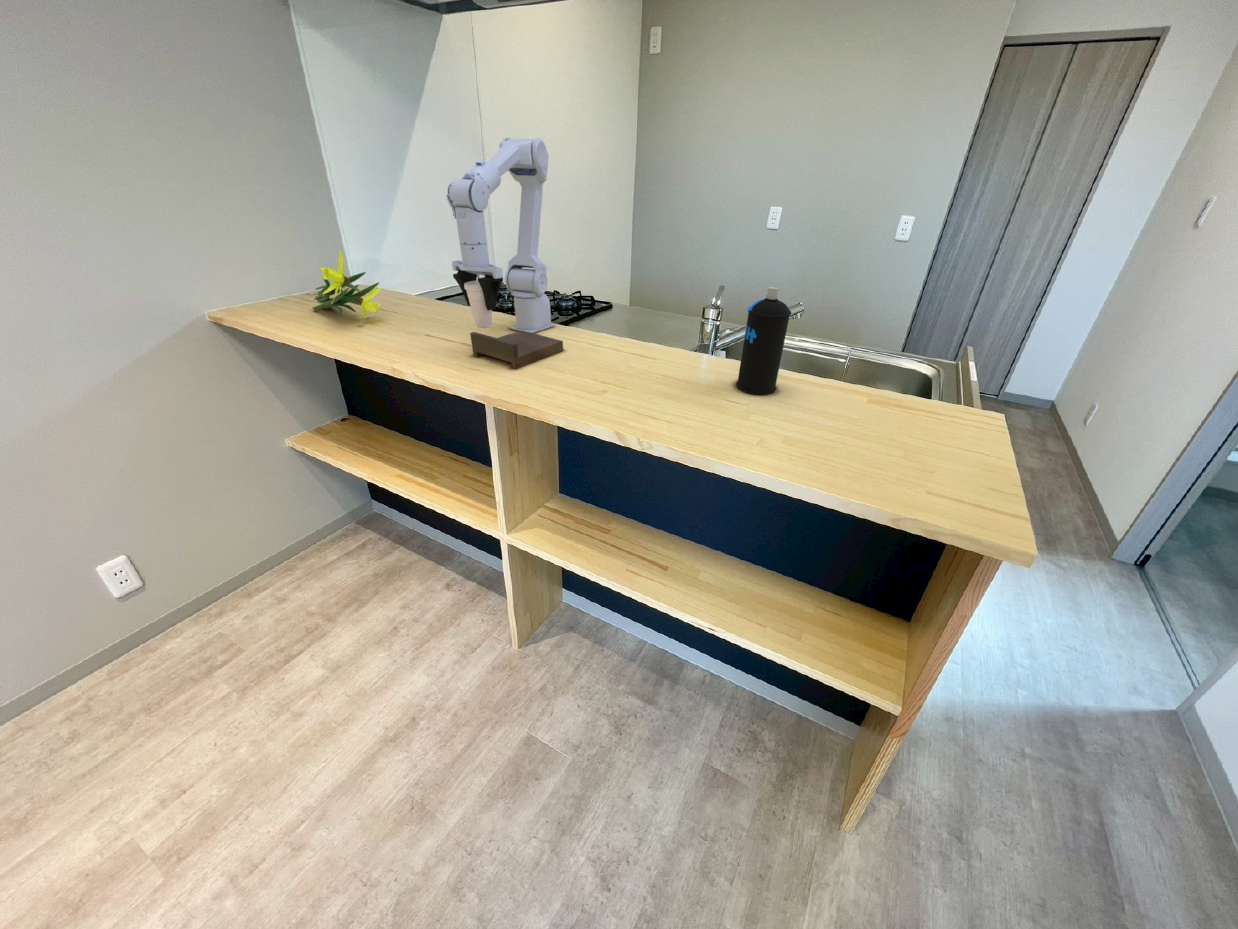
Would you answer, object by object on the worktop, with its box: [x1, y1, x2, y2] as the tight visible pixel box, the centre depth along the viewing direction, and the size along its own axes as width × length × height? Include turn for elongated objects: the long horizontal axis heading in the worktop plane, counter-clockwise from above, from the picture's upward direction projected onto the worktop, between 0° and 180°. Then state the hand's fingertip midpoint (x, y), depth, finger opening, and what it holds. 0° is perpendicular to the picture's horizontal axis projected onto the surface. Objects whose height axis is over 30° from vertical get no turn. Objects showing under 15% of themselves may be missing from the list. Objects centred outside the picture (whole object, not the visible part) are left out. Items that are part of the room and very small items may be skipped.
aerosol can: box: [735, 286, 792, 396], centre depth 97 cm, size 8×8×20 cm
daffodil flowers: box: [311, 249, 383, 326], centre depth 136 cm, size 17×15×35 cm
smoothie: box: [464, 274, 493, 329], centre depth 112 cm, size 6×6×14 cm
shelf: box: [469, 330, 564, 370], centre depth 116 cm, size 16×14×6 cm
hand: (481, 307), depth 113 cm, fingers closed on smoothie, 6 cm apart
